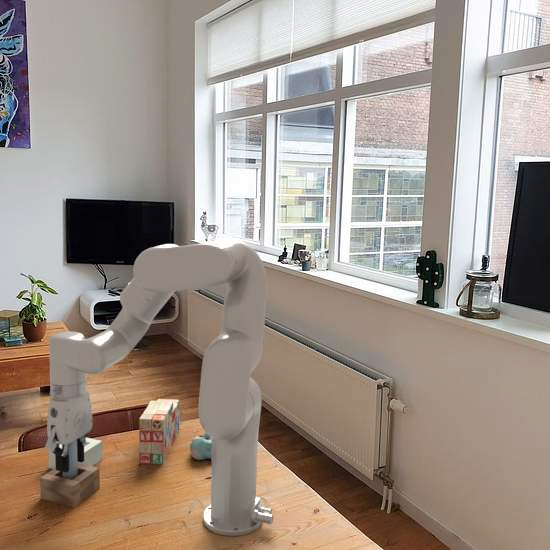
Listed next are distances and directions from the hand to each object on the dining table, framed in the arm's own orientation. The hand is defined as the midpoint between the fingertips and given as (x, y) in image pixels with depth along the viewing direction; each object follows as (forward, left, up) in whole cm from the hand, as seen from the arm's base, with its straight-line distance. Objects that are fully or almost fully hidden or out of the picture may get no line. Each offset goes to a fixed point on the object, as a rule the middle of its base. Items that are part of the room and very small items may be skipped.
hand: (70, 465), depth 134 cm
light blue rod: (0, 0, -7) cm, 7 cm away
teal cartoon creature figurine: (-20, -30, -7) cm, 37 cm away
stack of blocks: (-6, -29, -7) cm, 31 cm away
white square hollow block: (+8, -12, -7) cm, 16 cm away
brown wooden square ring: (0, 0, -7) cm, 7 cm away
